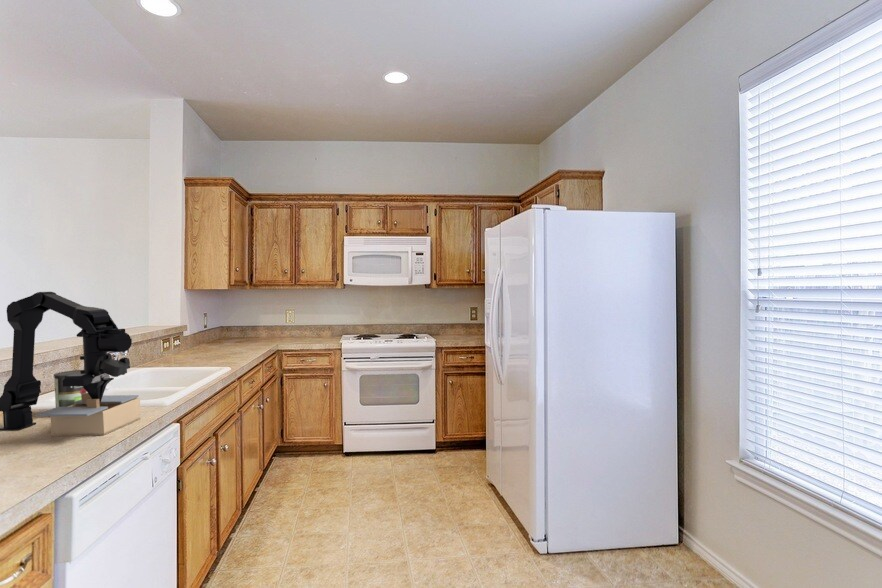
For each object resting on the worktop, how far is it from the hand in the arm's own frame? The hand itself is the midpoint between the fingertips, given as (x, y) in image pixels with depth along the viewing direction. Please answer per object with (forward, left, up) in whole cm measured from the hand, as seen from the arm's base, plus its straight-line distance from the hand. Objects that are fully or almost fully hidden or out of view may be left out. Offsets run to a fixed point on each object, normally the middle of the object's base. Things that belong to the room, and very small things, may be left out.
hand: (97, 403), depth 144 cm
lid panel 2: (-4, +9, -1) cm, 10 cm away
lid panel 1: (-4, -5, -1) cm, 6 cm away
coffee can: (-25, +21, -9) cm, 34 cm away
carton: (-4, +5, -9) cm, 11 cm away
